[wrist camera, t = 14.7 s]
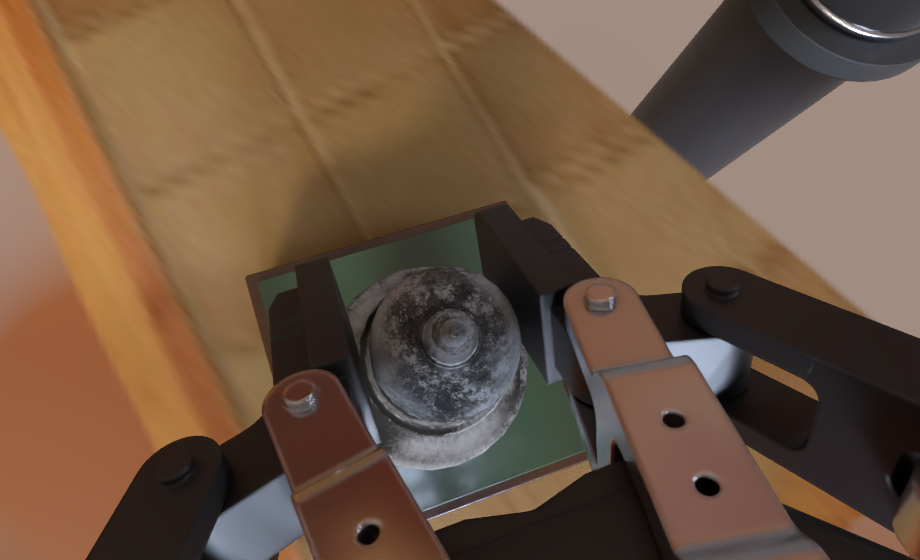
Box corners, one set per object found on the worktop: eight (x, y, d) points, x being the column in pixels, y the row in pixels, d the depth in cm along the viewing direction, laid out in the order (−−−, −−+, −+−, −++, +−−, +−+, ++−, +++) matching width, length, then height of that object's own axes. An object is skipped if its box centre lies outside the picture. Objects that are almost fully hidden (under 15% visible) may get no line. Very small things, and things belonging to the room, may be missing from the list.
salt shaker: (521, 309, 21) (667, 197, 10) (488, 475, 20) (610, 575, 8) (362, 272, 21) (316, 110, 9) (318, 438, 20) (202, 488, 8)
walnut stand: (492, 224, 26) (508, 196, 22) (571, 449, 24) (601, 457, 21) (265, 292, 24) (241, 274, 21) (334, 536, 23) (322, 562, 19)
